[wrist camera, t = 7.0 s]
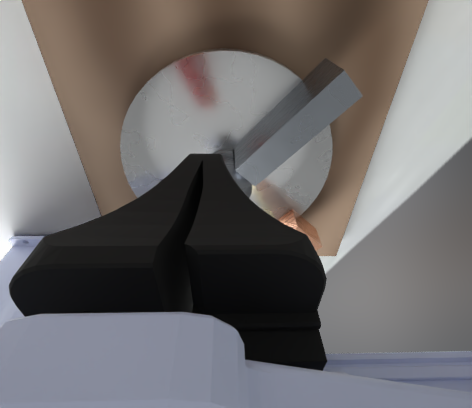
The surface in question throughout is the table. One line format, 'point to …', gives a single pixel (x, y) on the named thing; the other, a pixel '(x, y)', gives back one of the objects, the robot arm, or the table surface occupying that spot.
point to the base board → (216, 37)
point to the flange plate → (240, 127)
